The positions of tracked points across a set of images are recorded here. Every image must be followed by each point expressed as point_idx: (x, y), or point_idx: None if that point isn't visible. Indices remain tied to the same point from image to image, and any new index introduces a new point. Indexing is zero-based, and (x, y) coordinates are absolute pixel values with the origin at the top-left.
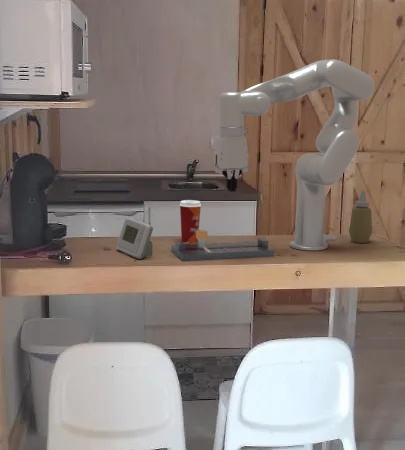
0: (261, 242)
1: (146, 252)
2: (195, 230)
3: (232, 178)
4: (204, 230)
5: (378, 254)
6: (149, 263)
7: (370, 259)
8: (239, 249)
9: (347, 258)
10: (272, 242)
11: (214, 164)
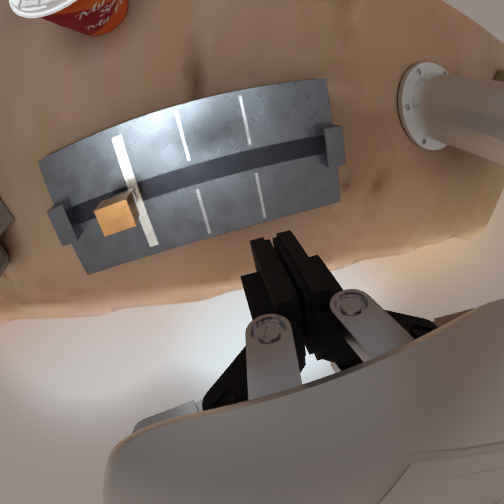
0: (324, 158)
1: (2, 232)
2: (106, 20)
3: (315, 330)
4: (123, 209)
5: (488, 185)
6: (33, 288)
7: (466, 219)
8: (245, 198)
9: (447, 212)
10: (367, 35)
11: (106, 482)
